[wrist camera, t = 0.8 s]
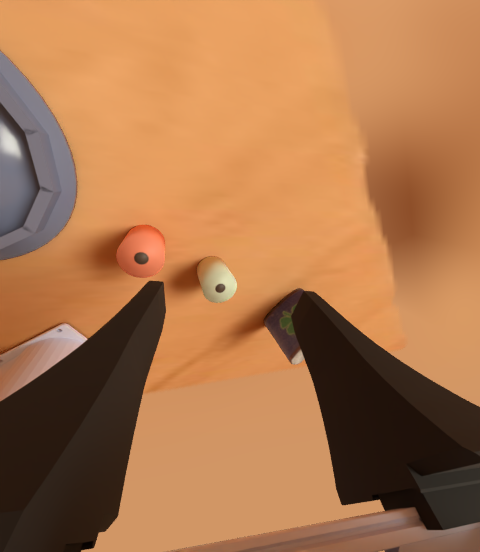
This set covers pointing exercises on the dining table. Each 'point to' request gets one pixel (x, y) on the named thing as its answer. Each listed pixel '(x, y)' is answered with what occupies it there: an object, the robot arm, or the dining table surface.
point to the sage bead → (216, 279)
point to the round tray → (31, 167)
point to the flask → (285, 326)
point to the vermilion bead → (142, 251)
